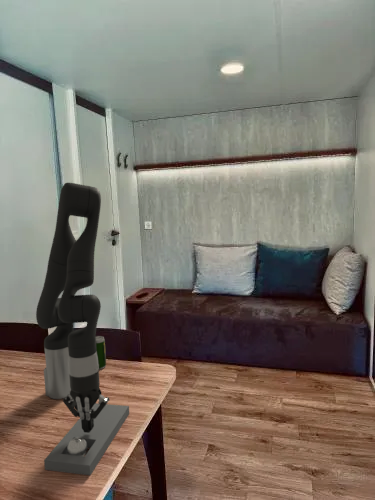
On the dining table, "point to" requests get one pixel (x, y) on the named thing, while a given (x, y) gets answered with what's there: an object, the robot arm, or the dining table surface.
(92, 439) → the hole board
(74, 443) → the steel ball
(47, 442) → the dining table surface
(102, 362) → the beer can
